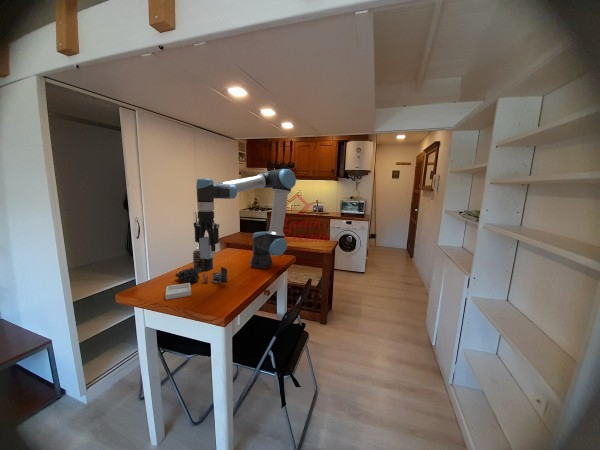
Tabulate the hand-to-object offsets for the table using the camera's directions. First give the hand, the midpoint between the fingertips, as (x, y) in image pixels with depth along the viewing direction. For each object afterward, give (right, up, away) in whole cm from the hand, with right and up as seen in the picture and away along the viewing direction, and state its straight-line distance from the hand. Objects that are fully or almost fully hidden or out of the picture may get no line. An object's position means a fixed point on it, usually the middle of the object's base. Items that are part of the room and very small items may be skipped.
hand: (207, 256), depth 112 cm
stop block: (0, 0, 0) cm, 0 cm away
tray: (-14, -18, 0) cm, 23 cm away
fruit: (-25, -13, +14) cm, 31 cm away
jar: (-16, -14, +33) cm, 39 cm away
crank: (+3, -15, +11) cm, 19 cm away
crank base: (-2, -17, +13) cm, 21 cm away
